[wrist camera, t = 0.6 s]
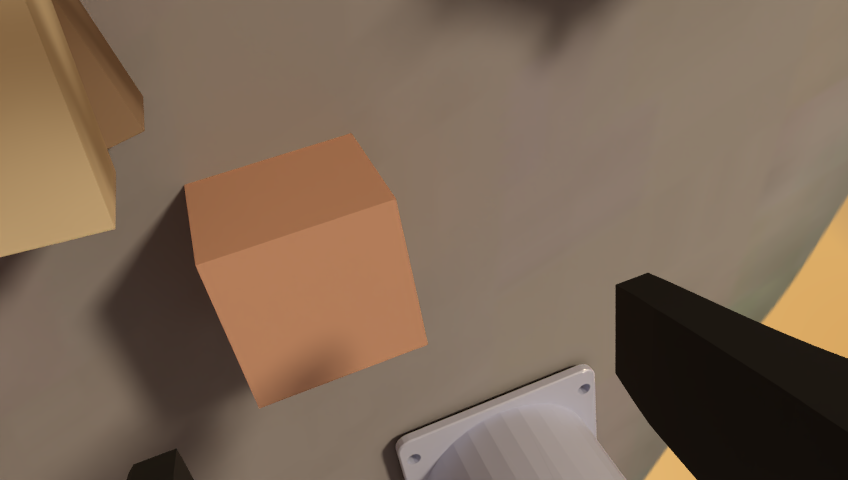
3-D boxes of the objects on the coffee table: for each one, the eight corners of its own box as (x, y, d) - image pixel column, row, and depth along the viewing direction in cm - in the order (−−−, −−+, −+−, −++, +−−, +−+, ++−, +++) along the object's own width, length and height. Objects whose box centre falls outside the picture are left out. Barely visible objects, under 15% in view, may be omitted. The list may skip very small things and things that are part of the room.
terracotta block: (383, 263, 21) (427, 344, 18) (239, 314, 20) (259, 408, 17) (350, 131, 19) (396, 199, 15) (183, 183, 18) (195, 265, 15)
